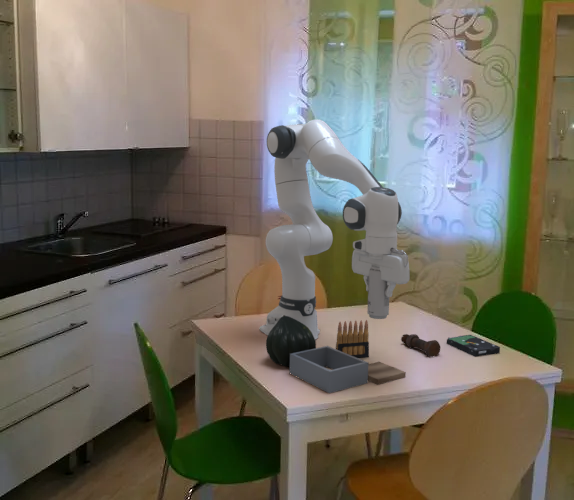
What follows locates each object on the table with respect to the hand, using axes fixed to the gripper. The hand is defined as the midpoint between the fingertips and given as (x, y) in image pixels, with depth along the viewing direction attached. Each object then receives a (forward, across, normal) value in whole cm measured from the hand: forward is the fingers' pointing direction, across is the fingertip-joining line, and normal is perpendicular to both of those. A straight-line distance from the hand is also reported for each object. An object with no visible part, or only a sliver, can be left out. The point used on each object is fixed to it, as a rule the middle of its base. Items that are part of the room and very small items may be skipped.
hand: (378, 293), depth 192 cm
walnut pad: (+24, 0, -1) cm, 24 cm away
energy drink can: (+7, 0, 0) cm, 7 cm away
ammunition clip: (+24, +16, -5) cm, 30 cm away
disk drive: (+25, +2, -45) cm, 52 cm away
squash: (+24, +23, +14) cm, 36 cm away
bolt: (+25, +10, -29) cm, 39 cm away
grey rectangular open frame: (+24, +6, +13) cm, 28 cm away
